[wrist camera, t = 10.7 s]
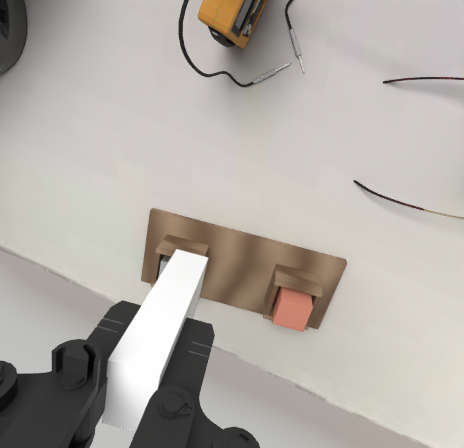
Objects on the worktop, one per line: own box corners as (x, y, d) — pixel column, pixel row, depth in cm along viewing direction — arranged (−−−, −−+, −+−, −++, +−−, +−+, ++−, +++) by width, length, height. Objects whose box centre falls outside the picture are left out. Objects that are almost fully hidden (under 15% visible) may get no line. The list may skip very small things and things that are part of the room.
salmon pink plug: (273, 300, 47) (272, 323, 43) (281, 277, 46) (281, 299, 41) (300, 307, 47) (302, 331, 42) (309, 285, 45) (312, 307, 41)
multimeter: (283, 111, 40) (283, 136, 21) (209, 69, 39) (145, 58, 21) (358, -24, 33) (448, -149, 15) (272, -76, 33) (260, -273, 15)
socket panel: (143, 277, 52) (128, 297, 47) (152, 208, 47) (137, 223, 42) (317, 324, 51) (321, 351, 46) (345, 259, 46) (353, 281, 41)
